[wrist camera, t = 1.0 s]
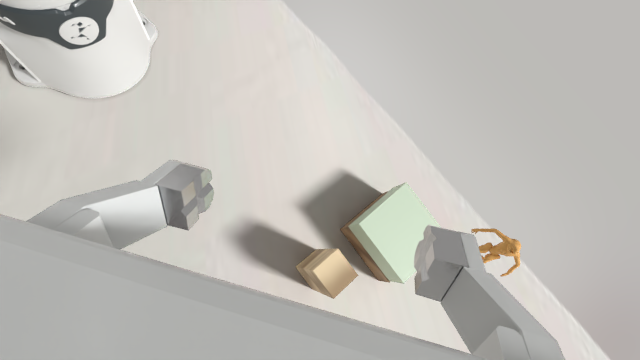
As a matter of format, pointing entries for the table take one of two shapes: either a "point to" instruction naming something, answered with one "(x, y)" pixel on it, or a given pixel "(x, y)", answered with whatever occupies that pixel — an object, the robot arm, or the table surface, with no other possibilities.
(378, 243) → the pale green square slab
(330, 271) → the oak post
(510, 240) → the figurine
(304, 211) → the table surface
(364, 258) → the tower base
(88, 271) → the robot arm
